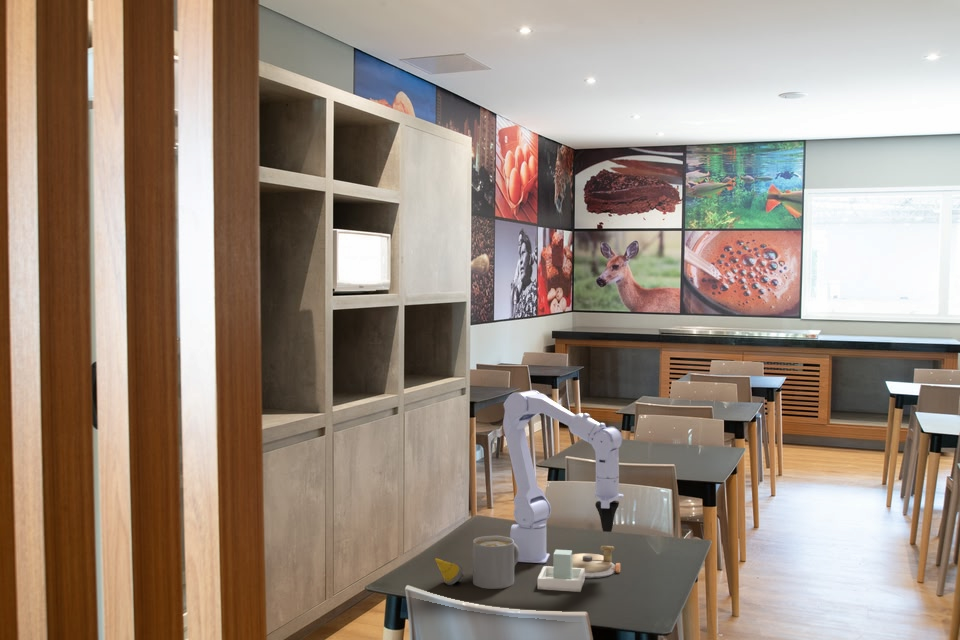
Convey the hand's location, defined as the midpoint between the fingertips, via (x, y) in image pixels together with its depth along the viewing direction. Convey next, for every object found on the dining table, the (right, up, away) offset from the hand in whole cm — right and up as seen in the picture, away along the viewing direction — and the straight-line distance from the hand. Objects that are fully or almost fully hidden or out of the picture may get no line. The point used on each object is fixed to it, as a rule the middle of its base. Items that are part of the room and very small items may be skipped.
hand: (607, 531), depth 218 cm
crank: (-4, -9, +3) cm, 10 cm away
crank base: (-5, -10, +3) cm, 12 cm away
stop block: (-12, -10, -9) cm, 18 cm away
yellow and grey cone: (-39, -11, -9) cm, 41 cm away
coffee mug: (-27, -11, -6) cm, 30 cm away
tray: (-12, -11, -8) cm, 18 cm away
